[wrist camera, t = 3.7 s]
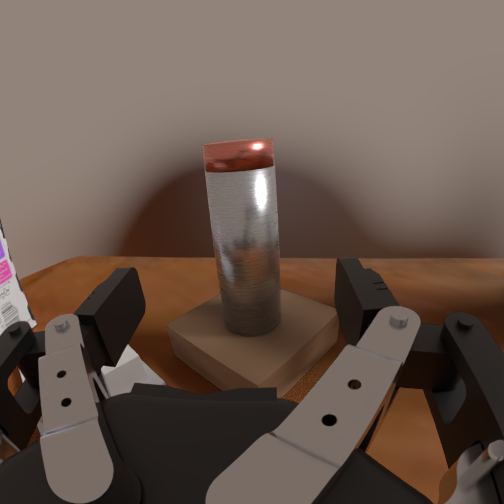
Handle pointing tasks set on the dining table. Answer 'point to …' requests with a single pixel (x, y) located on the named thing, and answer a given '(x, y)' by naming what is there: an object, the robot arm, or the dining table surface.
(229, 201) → the canister
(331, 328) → the mount
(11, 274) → the candy box
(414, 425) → the dining table surface
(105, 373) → the socket
